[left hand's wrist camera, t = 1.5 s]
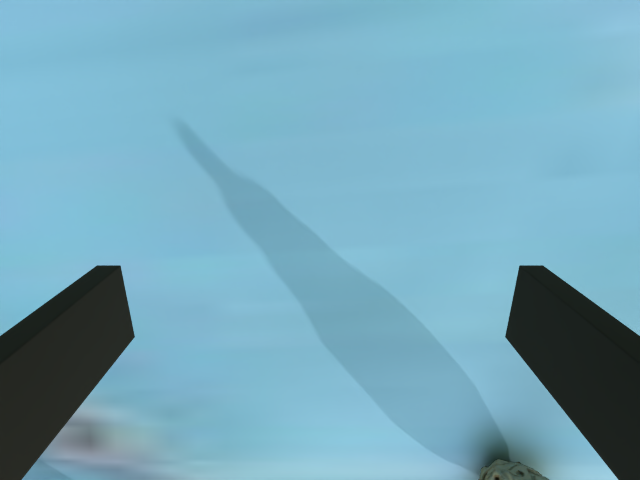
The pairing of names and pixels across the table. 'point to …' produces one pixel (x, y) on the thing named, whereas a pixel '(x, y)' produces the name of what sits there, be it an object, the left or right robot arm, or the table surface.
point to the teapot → (509, 472)
